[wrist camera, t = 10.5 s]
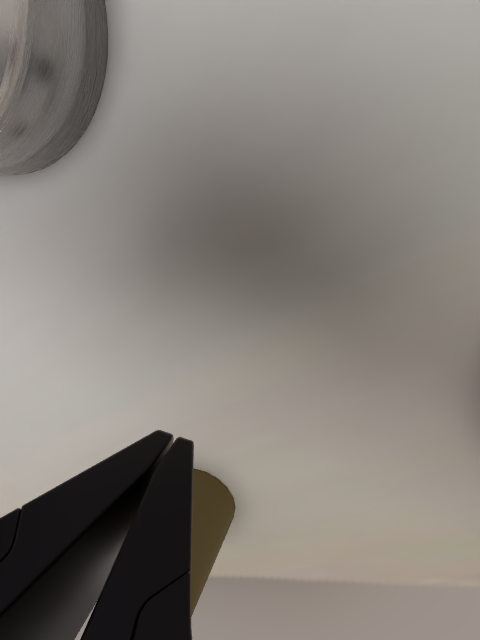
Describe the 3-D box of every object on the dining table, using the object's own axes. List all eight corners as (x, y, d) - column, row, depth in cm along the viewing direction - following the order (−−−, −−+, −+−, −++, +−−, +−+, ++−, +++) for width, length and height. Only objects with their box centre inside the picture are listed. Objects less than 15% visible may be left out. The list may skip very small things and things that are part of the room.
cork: (206, 544, 27) (142, 749, 17) (144, 499, 27) (42, 679, 17) (251, 503, 25) (207, 711, 15) (184, 454, 25) (92, 631, 15)
